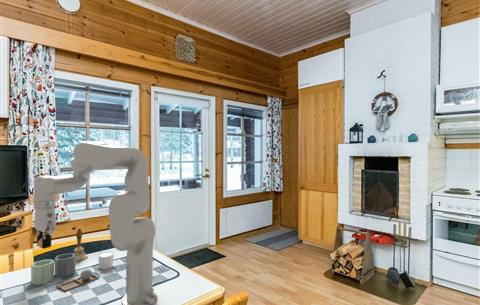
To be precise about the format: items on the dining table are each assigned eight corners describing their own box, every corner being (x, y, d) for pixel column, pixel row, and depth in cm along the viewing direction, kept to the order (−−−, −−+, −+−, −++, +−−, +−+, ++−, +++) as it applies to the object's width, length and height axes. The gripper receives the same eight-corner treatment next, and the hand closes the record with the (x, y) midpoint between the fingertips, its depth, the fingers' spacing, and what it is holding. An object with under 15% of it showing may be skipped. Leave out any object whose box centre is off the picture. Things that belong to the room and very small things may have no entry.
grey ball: (93, 279, 121) (93, 269, 121) (83, 283, 118) (83, 272, 118) (88, 276, 124) (88, 266, 124) (78, 280, 120) (78, 270, 120)
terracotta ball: (52, 247, 120) (52, 237, 120) (40, 250, 117) (40, 240, 117) (47, 245, 123) (47, 235, 123) (36, 248, 119) (36, 238, 119)
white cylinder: (107, 272, 130) (107, 257, 130) (94, 271, 132) (95, 256, 132) (116, 266, 137) (116, 252, 137) (104, 265, 139) (104, 251, 138)
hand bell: (70, 257, 149) (71, 227, 149) (88, 254, 152) (88, 226, 152) (68, 262, 141) (68, 231, 141) (87, 260, 145) (87, 230, 145)
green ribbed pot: (56, 281, 121) (56, 261, 121) (36, 288, 115) (36, 267, 115) (48, 277, 125) (48, 258, 125) (28, 283, 119) (28, 263, 119)
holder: (98, 280, 122) (98, 276, 122) (64, 294, 110) (64, 289, 110) (90, 276, 126) (90, 272, 126) (56, 289, 114) (56, 285, 114)
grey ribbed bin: (77, 274, 128) (78, 255, 128) (60, 280, 122) (60, 260, 122) (69, 270, 133) (69, 252, 133) (52, 275, 126) (52, 257, 126)
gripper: (63, 205, 118) (62, 248, 118) (45, 201, 127) (45, 240, 127) (43, 208, 112) (42, 253, 112) (26, 203, 121) (25, 244, 121)
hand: (44, 245), depth 120 cm, fingers closed on terracotta ball, 4 cm apart
